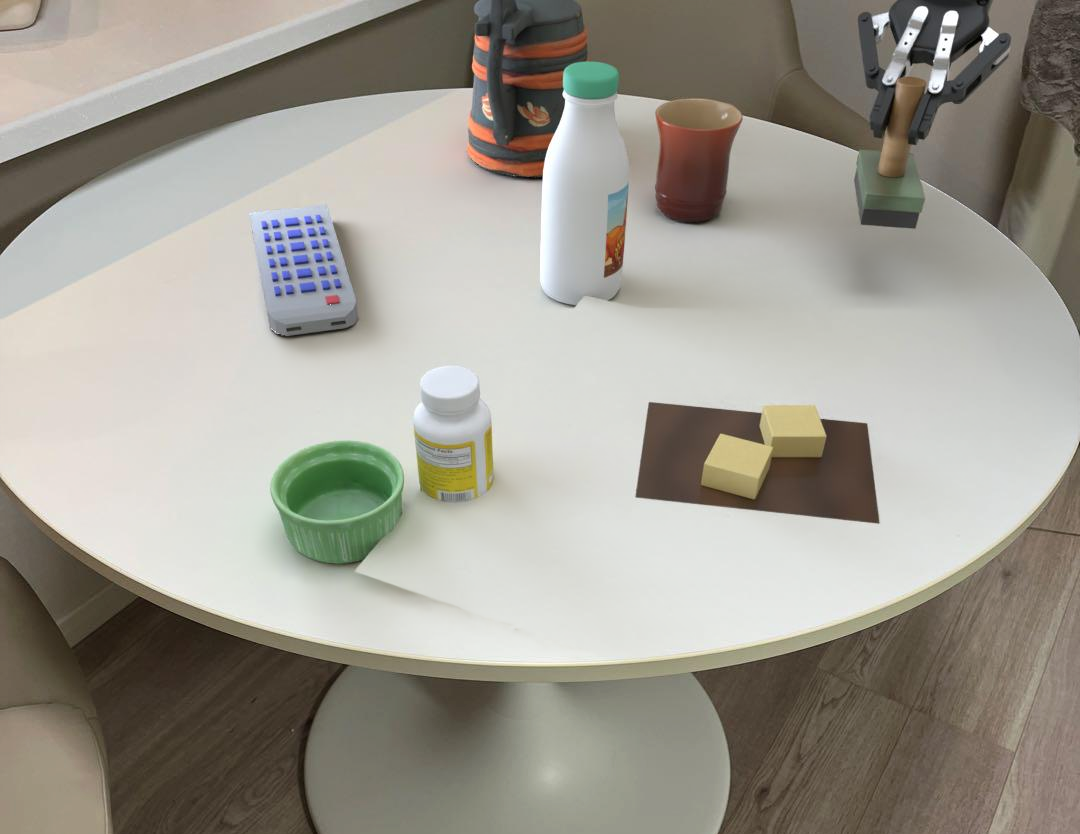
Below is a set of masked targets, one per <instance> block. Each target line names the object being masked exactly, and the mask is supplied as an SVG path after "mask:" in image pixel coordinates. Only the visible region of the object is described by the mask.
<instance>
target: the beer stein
mask: <svg viewBox="0 0 1080 834" xmlns="http://www.w3.org/2000/svg"><path fill="white" fill-rule="evenodd" d="M473 11H474V14H475V15H476V16H477V17H478V21H476V22H475V23H474V45H473V55H472V64H471V69H472V72H473V84H472V85H473V86H472V100H471V109H470V111H469V113H468V119H467V126H468V128H467V134H468V139H467V144H468V145H467V151H466V152H467V154H468V156H469V158H470V159H471V158H472V160H473V161H475V162H476V163H477V164H479V165H480V166H481V167H483V168H482V169H484V168H485V169H484V170H486V169H488V170H487V171H489V170H490V171H489V172H491V171H493V172H492V173H495V172H498V173H497V174H500V173H502V174H501V175H504V174H506V175H505V176H509V175H511V176H510V177H512V176H513V175H515V176H513V177H517V176H516V175H519V176H518V177H521V176H522V177H524V176H525V177H524V178H529V177H535V178H536V177H537V178H543V170H544V163H545V158H546V154H547V150H548V147H549V145H550V143H551V140H552V138H553V136H554V134H555V132H556V130H557V128H558V126H559V123H560V121H561V118H562V115H563V111H564V108H565V98H564V97H563V92H564V88H563V74H564V70H565V68H566V67H567V66H569V65H571V64H574V63H578V62H590V58H589V52H588V29H587V26H586V25H585V24H584V17H583V11H582V7H581V5H580V3H578V2H577V1H576V0H478V1H477V2H475V4H474V7H473ZM472 160H471V161H472ZM473 161H472V162H473ZM477 164H476V165H477ZM480 166H479V167H480ZM481 167H480V168H481Z"/></svg>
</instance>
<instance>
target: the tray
mask: <svg viewBox="0 0 1080 834" xmlns="http://www.w3.org/2000/svg"><path fill="white" fill-rule="evenodd" d="M761 415H762V412H757V411H746V410H736V409H727V408H715V407H707V406H705V407H704V406H696V405H695V406H694V405H686V404H685V405H684V404H674V403H664V402H656V401H655V402H654V401H649V402H648V405H647V413H646V418H645V426H644V432H643V440H642V448H641V454H640V460H639V461H640V462H639V469H638V475H637V483H636V488H635V497H634V498H637V499H646V500H653V501H654V500H655V501H663V502H664V501H665V502H674V503H683V504H690V505H691V504H693V505H703V506H710V507H711V506H712V507H719V508H728V509H729V508H730V509H738V510H747V511H755V512H756V511H758V512H765V513H776V514H785V515H794V516H804V517H812V518H821V519H830V520H831V519H832V520H841V521H849V522H850V521H851V522H860V523H869V524H870V523H871V524H877V525H878V524H880V515H879V507H878V500H877V491H876V484H875V475H874V467H873V459H872V451H871V444H870V435H869V427H868V423H867V422H858V421H849V420H848V421H847V420H839V419H829V418H828V419H827V418H820V420H821V423H822V425H823V428H824V431H825V434H826V441H825V445H824V449H823V453H822V457H772V458H771V462H770V467H769V470H768V472H767V474H766V477H765V479H764V481H763V483H762V485H761V488H760V490H759V492H758V494H757V496H756V498H755V500H754V499H750V498H746V497H743V496H739V495H735V494H732V493H728V492H724V491H721V490H717V489H714V488H710V487H706V486H703V485H701V482H702V475H703V469H704V463H705V461H706V459H707V458H708V456H709V454H710V452H711V450H712V448H713V446H714V445H715V443H716V441H717V439H718V437H719V435H720V434H724V435H728V436H732V437H736V438H740V439H744V440H748V441H751V442H755V443H759V444H763V445H765V443H764V440H763V436H762V433H761V429H760V421H761Z"/></svg>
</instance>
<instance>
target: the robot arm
mask: <svg viewBox="0 0 1080 834" xmlns="http://www.w3.org/2000/svg"><path fill="white" fill-rule="evenodd" d="M993 3H994V0H896V1H894V2H893V3H892V5H891V6H890V7H889V10H888V11H887V12H883V13H879V14H876V15H872V13H871V12H869V11H863V12H861V13H860V14H859V15H858V17H857V27H858V28H857V29H858V36H859V37H858V38H859V43H860V50H861V58H862V64H863V72H864V78H865V86H866V87H867V88H868V89H870V90H876V91H877V92H878V93H877V96H876V98H875V101H874V104H873V106H872V109H871V111H870V114H869V126H870V130H871V131H873V138H876V139H881V140H883V138H884V137H885V134H886V130H887V125H888V121H889V117H890V112H891V108H892V103H893V99H894V94H895V90H896V85H897V81H898V79H899V78H902V77H909V76H910V74H911V71H913V68H914V66H915V65H918V64H919V65H920V64H925V65H928V66H930V67H932V69H931V73H930V76H929V81H928V84H927V85H928V86H927V89H926V92H924V93H923V94H922V97H921V100H920V102H919V105H918V108H917V110H916V113H915V116H914V118H913V121H912V124H911V126H910V129H909V132H908V144H911V146H917V145H918V143H919V140H922V141H924V140H926V139H927V138H928V136H929V134H930V132H931V129H932V126H933V123H934V121H935V118H936V115H937V112H938V110H939V108H940V107H941V106H942V105H944V104H947V103H952V104H955V105H962V104H963V103H965V101H966V100H967V99H968V98H970V96H971V95H972V94H973V93H975V92H976V91H977V90H978V88H979V87H980V86H981V85H983V83H984V82H985V81H987V80H988V78H990V76H992V74H994V73H995V72H996V71H997V69H999V68H1000V67H1001V66H1002V65H1003V64H1004V62H1006V61H1007V60H1008V59H1009V56H1010V51H1011V42H1012V37H1011V35H1010V34H1009V33H1007V32H1002V33H998V32H997V31H995V30H994V29H993V28H991V27H990V21H991V20H990V16H989V14H990V11H991V7H992V5H993ZM889 28H890V31H891V34H892V37H893V39H894V42H895V45H896V47H895V49H894V51H893V54H892V58H891V60H890V62H889V64H888V66H887V69H884V68H882V67H880V63H879V56H878V50H877V45H878V44H880V42H882V41H883V39H884V37H885V32H886V30H887V29H889ZM979 43H981V44H980V45H979V47H978V55H977V56H975V58H974V59H972V61H970V62H969V64H968V65H967V66H965V68H964V69H963V70H962V71H960V73H959V74H958V75H957V76H956V77H954V78H953V79H951V80H950V79H949V77H950V75H951V70H952V65H953V63H954V62H955V61H957V60H958V59H960V58H961V57H962V56H964V55H965V54H966V53H967V52H969V51H970V50H971V49H972V48H974V47H975V46H976V45H978V44H979Z"/></svg>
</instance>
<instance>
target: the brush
mask: <svg viewBox="0 0 1080 834" xmlns="http://www.w3.org/2000/svg"><path fill="white" fill-rule="evenodd" d="M926 87H927V81H926V80H925V79H923V78H920V77H915V76H908V77H902V78H899V79H898V81H897V85H896V90H895V94H894V99H893V103H892V108H891V112H890V117H889V121H888V125H887V128H886V131H885V133H884V139H883V142H882V143H883V144H882V149H881V150H873V149H872V150H871V149H859V150H858V152H857V153H858V154H857V157H856V158H857V159H856V163H855V164H856V170H855V175H854V179H853V181H854V182H853V183H854V190H855V195H856V196H855V197H856V202H857V203H856V204H857V209H858V216H859V222H860V223H859V224H860V226H871V227H872V226H873V227H884V228H885V227H886V228H896V229H897V228H899V229H912V230H916V228H917V225H918V220H919V217H920V214H921V213H922V212H923V208H924V204H925V201H926V196H925V193H924V189H923V185H922V181H921V178H920V173H919V170H918V165H917V161H916V158H915V154H914V153H913V152H911V149H912V145H911V144H908V132H909V129H910V126H911V124H912V121H913V118H914V116H915V113H916V110H917V108H918V105H919V102H920V100H921V97H922V94H923V93H925V91H926Z"/></svg>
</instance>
